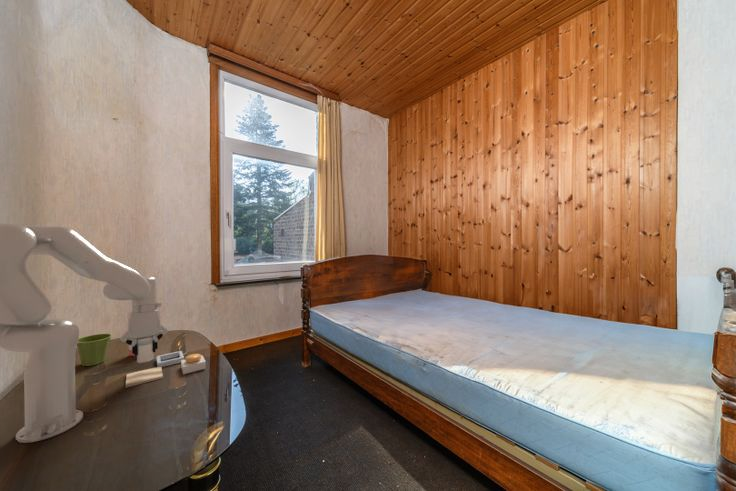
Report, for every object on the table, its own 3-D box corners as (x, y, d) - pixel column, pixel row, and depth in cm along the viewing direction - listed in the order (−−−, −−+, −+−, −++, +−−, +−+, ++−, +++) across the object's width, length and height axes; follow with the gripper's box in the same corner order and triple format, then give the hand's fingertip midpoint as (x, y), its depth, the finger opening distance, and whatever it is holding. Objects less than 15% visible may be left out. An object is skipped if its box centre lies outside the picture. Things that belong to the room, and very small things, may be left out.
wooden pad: (162, 378, 106) (162, 376, 106) (125, 387, 99) (125, 385, 99) (161, 367, 114) (161, 366, 114) (126, 376, 107) (126, 374, 107)
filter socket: (184, 361, 120) (184, 357, 120) (157, 368, 114) (157, 363, 114) (181, 354, 128) (181, 350, 128) (156, 360, 121) (156, 356, 121)
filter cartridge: (153, 360, 107) (153, 337, 106) (136, 364, 103) (136, 341, 103) (153, 355, 111) (152, 334, 110) (137, 359, 107) (136, 337, 107)
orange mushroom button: (202, 366, 114) (201, 356, 114) (186, 370, 111) (186, 360, 111) (199, 362, 119) (199, 352, 119) (184, 365, 115) (184, 356, 115)
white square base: (205, 368, 114) (205, 361, 114) (183, 374, 109) (183, 367, 109) (202, 361, 120) (202, 355, 120) (180, 367, 115) (180, 360, 115)
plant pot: (117, 360, 122) (117, 335, 121) (81, 371, 111) (81, 344, 111) (105, 355, 126) (104, 331, 126) (69, 365, 116) (68, 339, 116)
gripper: (170, 302, 115) (170, 344, 115) (115, 309, 104) (116, 355, 104) (171, 306, 109) (172, 350, 110) (114, 314, 98) (115, 362, 98)
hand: (145, 352), depth 107 cm, fingers closed on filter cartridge, 5 cm apart
